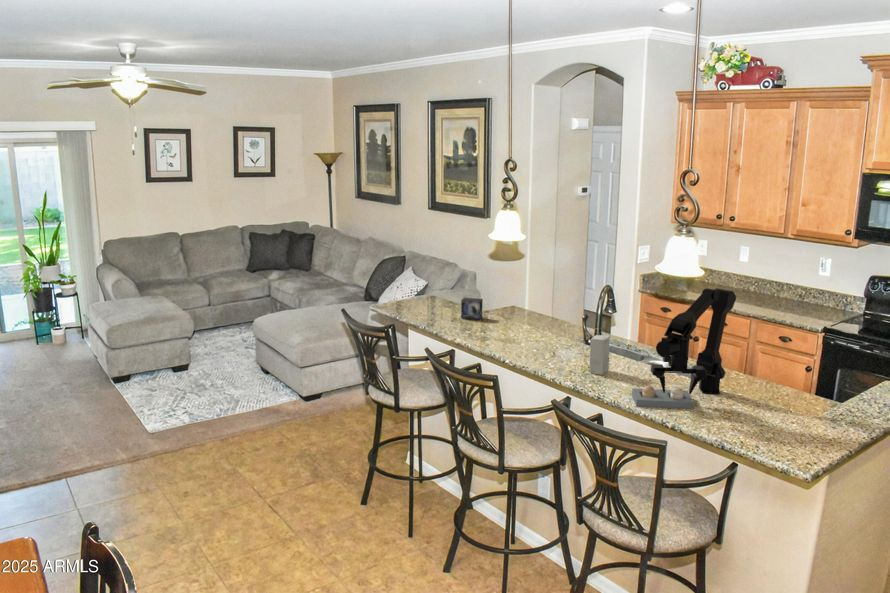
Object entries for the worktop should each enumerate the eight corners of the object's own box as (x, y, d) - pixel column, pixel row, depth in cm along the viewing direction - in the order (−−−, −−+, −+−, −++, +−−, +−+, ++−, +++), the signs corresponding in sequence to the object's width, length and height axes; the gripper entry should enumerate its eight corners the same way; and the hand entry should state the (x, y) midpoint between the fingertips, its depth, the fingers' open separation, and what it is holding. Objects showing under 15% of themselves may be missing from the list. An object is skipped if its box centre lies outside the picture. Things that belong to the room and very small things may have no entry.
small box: (460, 319, 375) (460, 299, 373) (463, 316, 381) (464, 297, 379) (479, 320, 372) (480, 301, 370) (482, 317, 378) (483, 298, 376)
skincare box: (602, 375, 285) (604, 340, 282) (588, 373, 288) (590, 338, 285) (608, 369, 292) (610, 335, 289) (594, 367, 295) (596, 333, 292)
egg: (681, 400, 258) (682, 385, 257) (683, 404, 254) (684, 389, 252) (668, 400, 258) (670, 385, 257) (671, 404, 254) (672, 389, 253)
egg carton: (686, 397, 261) (688, 382, 260) (693, 409, 250) (695, 393, 248) (631, 394, 264) (632, 379, 262) (636, 406, 252) (637, 391, 251)
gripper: (701, 346, 259) (698, 386, 262) (649, 344, 261) (647, 384, 264) (709, 355, 248) (705, 397, 251) (654, 353, 250) (651, 395, 253)
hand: (676, 393), depth 255 cm, fingers open, 9 cm apart
